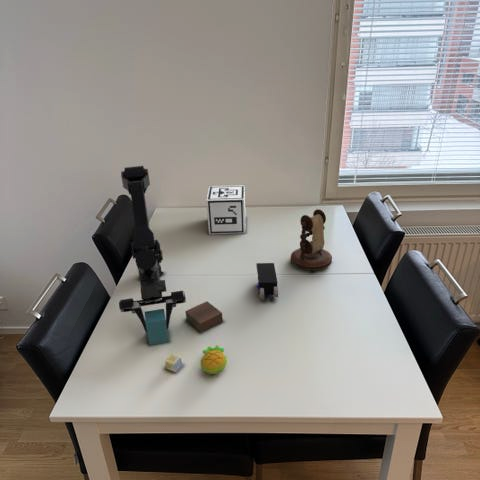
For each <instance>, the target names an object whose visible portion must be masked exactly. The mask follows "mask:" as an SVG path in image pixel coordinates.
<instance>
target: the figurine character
mask: <svg viewBox="0 0 480 480" xmlns="http://www.w3.org/2000/svg"><path fill="white" fill-rule="evenodd" d="M255 265H256V272H257V286H256V288H257V290H258V296H259V300H262V302H266V297H270V299H271V301H272V302H274V301H275V298H277V299H278V298H279V287H278V283H279V282H278V277H277V272H276V271H277V270H276V267H275V262H256V264H255Z"/></svg>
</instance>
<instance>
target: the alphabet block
mask: <svg viewBox="0 0 480 480" xmlns="http://www.w3.org/2000/svg"><path fill="white" fill-rule="evenodd" d="M164 362H165V363H164V364H165V368H166V369H167V370H169V371H172V372H173V373H177V372H178V371H179V369H181V368H182V366H183V363H182V357H180V356H177V355H175V354H171V355H169V356H168V357H167V358H166V359H165V360H164Z"/></svg>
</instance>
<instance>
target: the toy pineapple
mask: <svg viewBox="0 0 480 480" xmlns="http://www.w3.org/2000/svg"><path fill="white" fill-rule="evenodd" d="M224 351H225V348H224V347H220V346H219V345H216V346H215V347H212V346H208V347H207V349H203V350H202V353H203V354H204V355H203V356H202V357H201V359H200V367H201V369H202V370H203V371H204V372H206V373H207V374H210V375H216V374H219V373H221V372H222V371H223V370H224V369H225V367H226V366H227V361H228V360H227V356H226V355H225V354H224V353H223V352H224Z"/></svg>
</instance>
